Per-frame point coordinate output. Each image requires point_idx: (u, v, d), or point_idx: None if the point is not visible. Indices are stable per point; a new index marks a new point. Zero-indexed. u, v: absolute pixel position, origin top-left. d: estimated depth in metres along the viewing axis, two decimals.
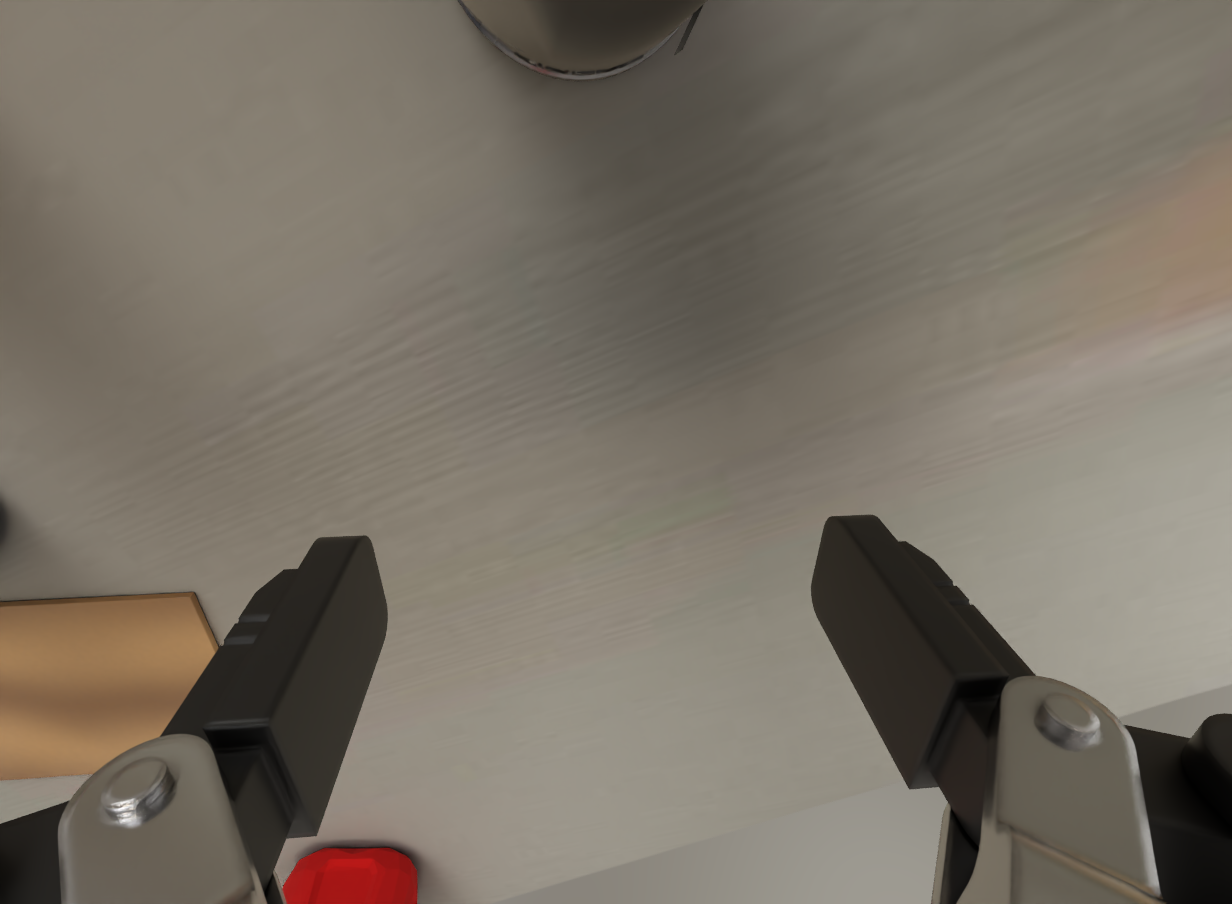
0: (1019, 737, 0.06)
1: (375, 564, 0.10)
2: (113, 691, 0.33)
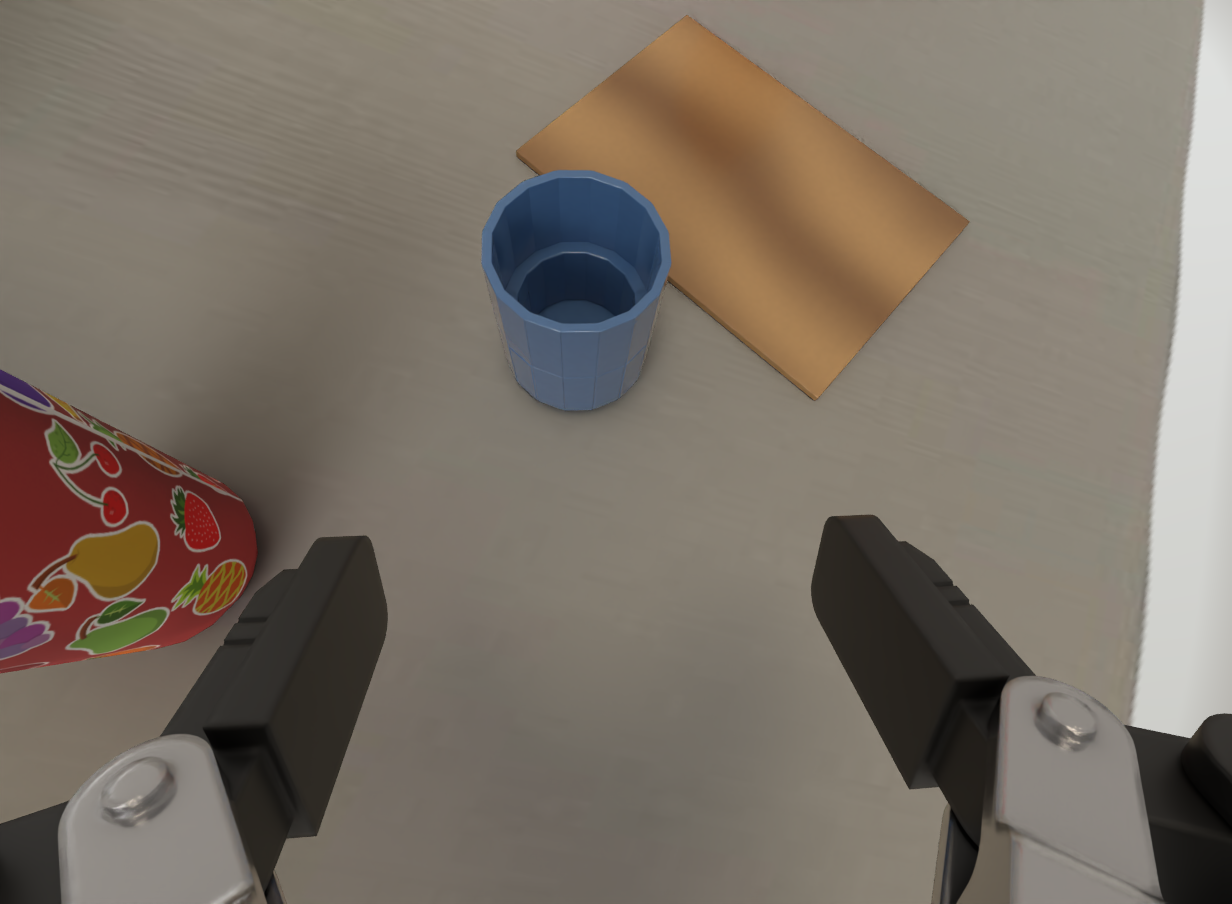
0: (1018, 737, 0.06)
1: (375, 564, 0.10)
2: (690, 148, 0.31)
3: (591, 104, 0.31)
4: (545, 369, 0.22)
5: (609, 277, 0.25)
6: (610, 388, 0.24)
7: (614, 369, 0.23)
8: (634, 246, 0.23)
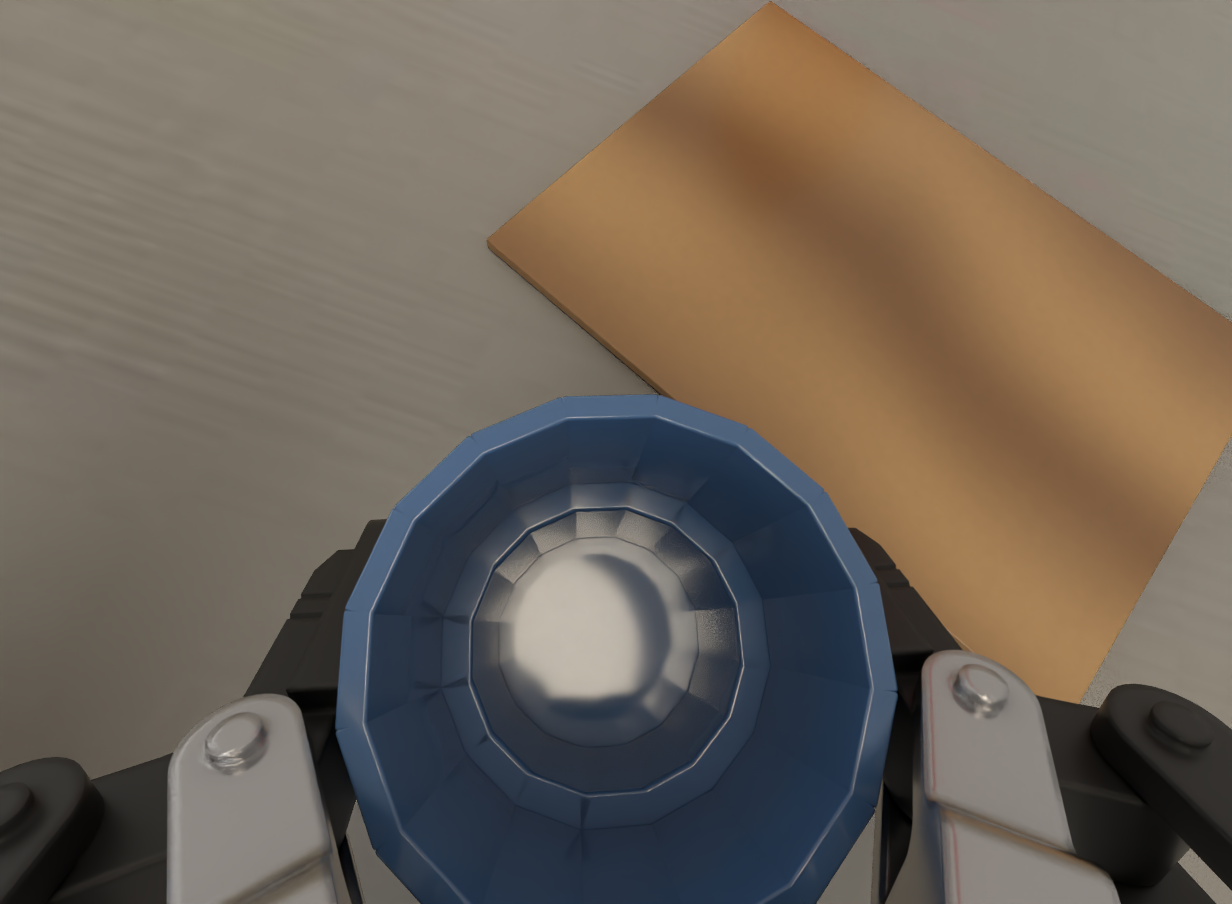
0: (940, 712, 0.06)
1: None
2: (790, 230, 0.18)
3: (617, 153, 0.18)
4: None
5: (671, 540, 0.12)
6: None
7: None
8: (743, 526, 0.10)
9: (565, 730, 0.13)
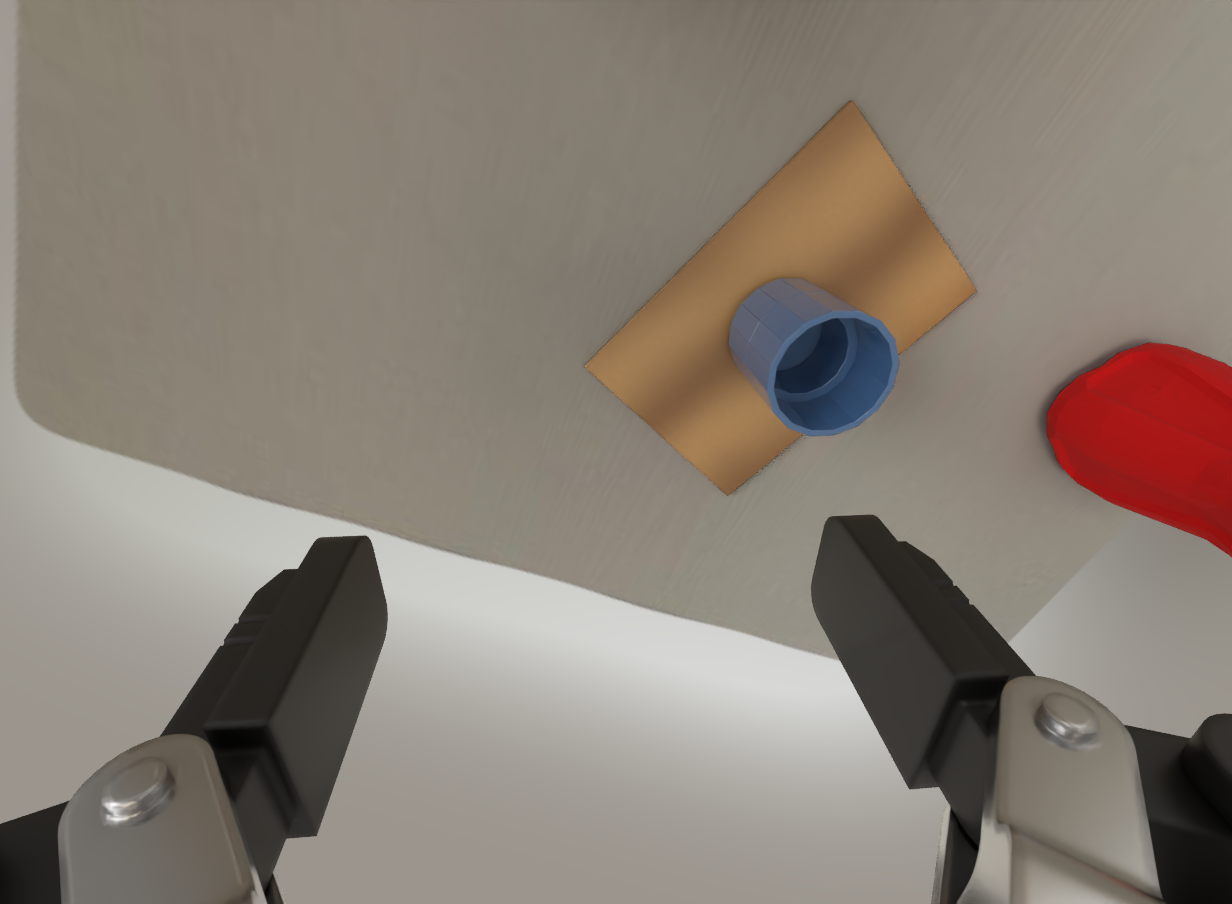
0: (1018, 737, 0.06)
1: (375, 564, 0.10)
2: (826, 282, 0.34)
3: (892, 186, 0.32)
4: (755, 331, 0.30)
5: (825, 370, 0.33)
6: (740, 365, 0.34)
7: (749, 378, 0.32)
8: (838, 400, 0.32)
9: None
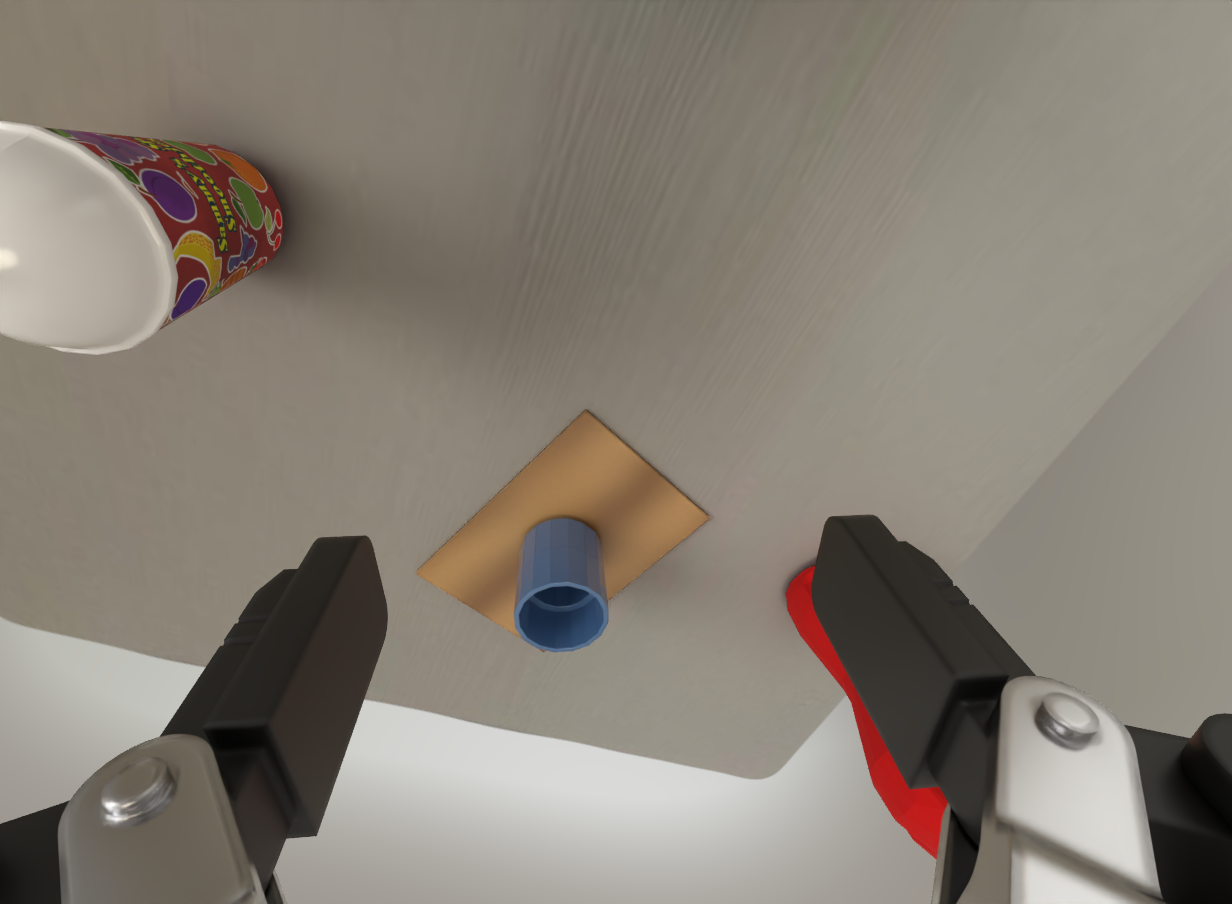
0: (1018, 737, 0.06)
1: (375, 564, 0.10)
2: (591, 517, 0.46)
3: (628, 459, 0.44)
4: (519, 573, 0.42)
5: None
6: None
7: None
8: (586, 616, 0.43)
9: None
